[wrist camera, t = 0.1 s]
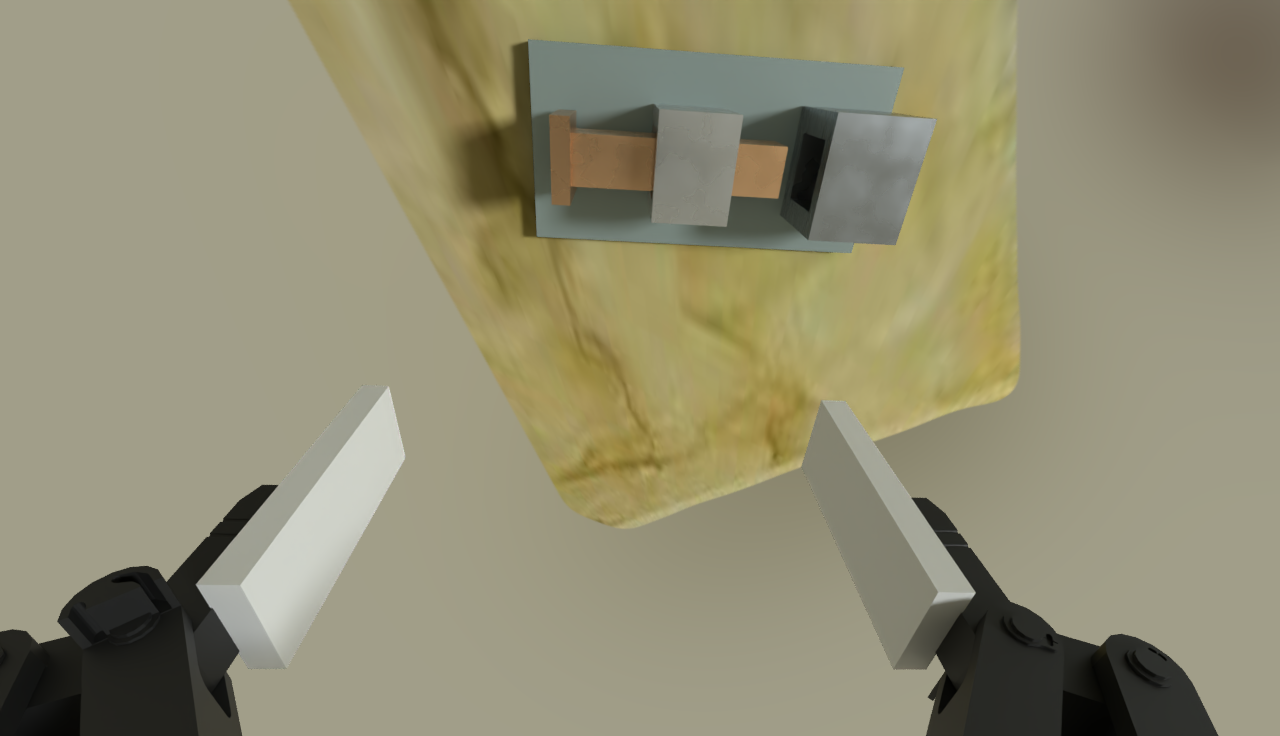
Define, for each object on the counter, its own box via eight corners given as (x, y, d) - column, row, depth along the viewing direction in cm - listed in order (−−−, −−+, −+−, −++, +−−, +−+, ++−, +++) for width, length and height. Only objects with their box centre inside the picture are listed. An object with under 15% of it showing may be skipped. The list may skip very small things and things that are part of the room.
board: (531, 40, 33) (528, 39, 32) (895, 68, 35) (904, 67, 34) (539, 232, 40) (536, 236, 39) (845, 248, 42) (851, 253, 41)
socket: (802, 105, 35) (838, 112, 29) (884, 111, 35) (937, 119, 29) (780, 215, 39) (808, 240, 33) (854, 219, 39) (895, 245, 33)
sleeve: (653, 103, 35) (659, 109, 29) (724, 108, 35) (743, 114, 29) (647, 201, 38) (651, 222, 32) (711, 204, 38) (726, 226, 33)
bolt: (558, 109, 34) (549, 114, 29) (774, 123, 35) (796, 131, 30) (560, 188, 36) (551, 204, 32) (760, 200, 37) (779, 217, 33)
